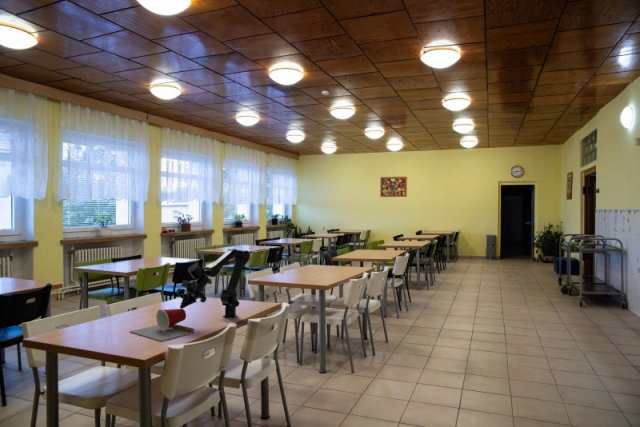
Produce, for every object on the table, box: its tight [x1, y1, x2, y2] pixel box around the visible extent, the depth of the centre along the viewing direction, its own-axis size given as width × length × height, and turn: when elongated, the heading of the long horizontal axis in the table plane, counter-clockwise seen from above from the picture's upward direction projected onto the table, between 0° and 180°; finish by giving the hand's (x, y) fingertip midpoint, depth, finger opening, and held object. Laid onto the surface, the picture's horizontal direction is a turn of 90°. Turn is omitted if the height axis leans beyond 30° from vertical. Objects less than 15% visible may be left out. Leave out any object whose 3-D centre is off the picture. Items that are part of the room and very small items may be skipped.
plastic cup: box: [155, 308, 187, 331], centre depth 222 cm, size 11×11×12 cm
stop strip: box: [171, 323, 195, 334], centre depth 223 cm, size 2×24×2 cm, turn 54°
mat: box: [128, 324, 193, 343], centre depth 215 cm, size 17×26×1 cm, turn 54°
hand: (180, 308), depth 224 cm, fingers closed, pressing on plastic cup
